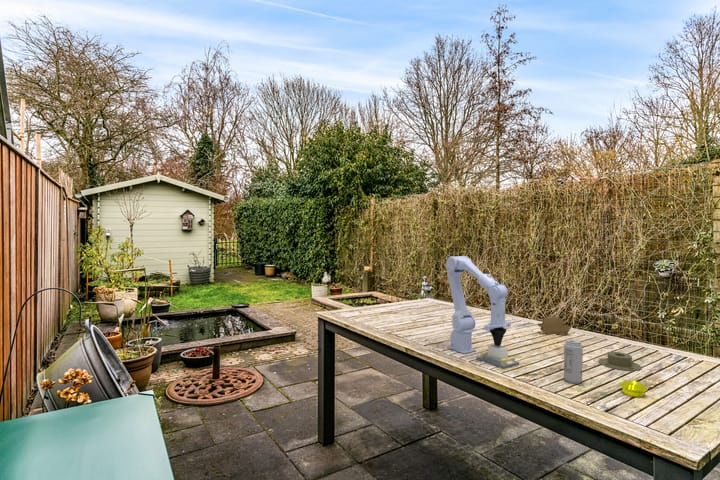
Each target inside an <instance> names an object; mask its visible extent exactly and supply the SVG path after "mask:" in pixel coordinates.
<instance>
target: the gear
mask: <svg viewBox="0 0 720 480" xmlns="http://www.w3.org/2000/svg"><path fill="white" fill-rule="evenodd" d="M619 386H620V387H621V388H622V393H623V394H624V395H626V396H629V397H633V398H644V397H645V392H647V391H648V387H647V386H645V384H643V383H642V382H640V381H636V380H628V379H626V380H622V381H621V382H619Z"/></svg>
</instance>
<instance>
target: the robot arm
mask: <svg viewBox="0 0 720 480" xmlns="http://www.w3.org/2000/svg"><path fill="white" fill-rule="evenodd" d="M445 265H446V271H447V279H448V284H449V288H450V294H451V297H452V302H453V306H454V313H453V314H452V316H451V319H452V322H451V325H452V328H453V330H451V333H450V347H448V348H449V350H452V351H454V352H455V351H456V352H458V353H461V354H467V353H472V352H476V349H474V348H472V347H473V346H472V343H473V342H472V340H473V338H472V337H473V336H472V333H473V330H474V329H475V327H476V319H475V318H474V317H473V313H472V312H471V311H470V310H468V307H467V303H466V299H465V296H464V295H465V294H464V291H463V286H462V282H461V275H462V274H464V272H465V271H466V272H468V273H469V274H470V275H472V276H473V277H474V278H475V279H477V283H478V284H479V285H480V286H481V287H482V288H483V290H485V291H486V292H487V295H488V297H489V301H490V322H489V323H487V324H485V325H484V326H483V327H484V328H483V329H484V331H488V332H490V335H491V336H492V339H493V344H495V345H497V346H502V343H503V338H504V335H505V334H506V332H507V329H506V328H507V327H508V328H509V327H511V325H512V324H511V321H506V299H507V296H509V289H508V287H507V286H506V285H505V284H500V283H499V281H496V280H495V279H494V278H493V277H492V275H491V274H490V273H483V272H482V271H481V270H480V269H479V268H478V267H477V266H476V264H474V263H473V262H472V259H471V258H469V256H467V255H461V256H459V255H458V256H453V255H452V256H448V258H447V260H446V262H445Z"/></svg>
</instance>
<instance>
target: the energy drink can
mask: <svg viewBox="0 0 720 480" xmlns="http://www.w3.org/2000/svg"><path fill="white" fill-rule="evenodd" d="M563 346H564V347H563V379H564V380H565V381H566V382H567V383H569V384H574V385H580V384H581V382H583V359H584V358H583V351H584V349H583V348H584V347H583V345H582V342H581V341H580V340H578V339H571V338H569V339H566V340H565V342H564V344H563Z"/></svg>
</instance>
